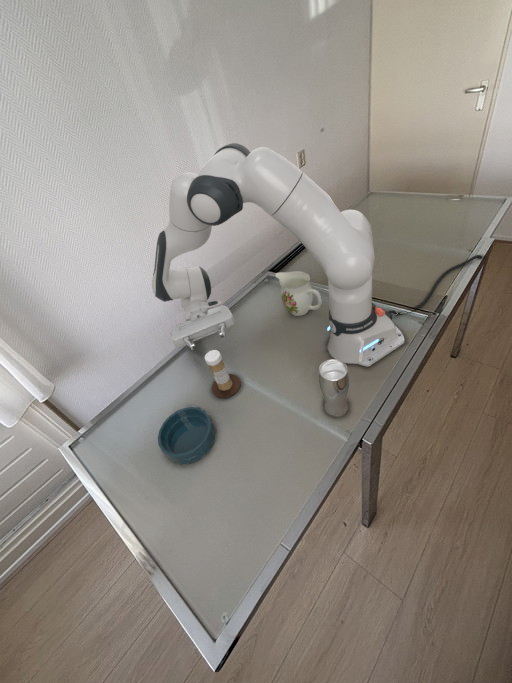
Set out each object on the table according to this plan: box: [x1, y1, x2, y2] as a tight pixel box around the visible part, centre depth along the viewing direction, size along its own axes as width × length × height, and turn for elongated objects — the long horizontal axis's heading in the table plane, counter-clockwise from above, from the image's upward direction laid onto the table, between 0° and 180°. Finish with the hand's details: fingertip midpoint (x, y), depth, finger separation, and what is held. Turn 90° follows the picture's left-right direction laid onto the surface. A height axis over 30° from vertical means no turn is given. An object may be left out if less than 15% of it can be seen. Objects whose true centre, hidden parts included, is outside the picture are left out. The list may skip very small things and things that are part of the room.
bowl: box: [157, 406, 217, 466], centre depth 85 cm, size 14×14×5 cm
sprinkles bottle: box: [204, 349, 232, 391], centre depth 93 cm, size 5×5×13 cm
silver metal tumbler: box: [318, 358, 350, 418], centre depth 79 cm, size 7×7×15 cm
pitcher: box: [274, 270, 323, 317], centre depth 112 cm, size 11×18×14 cm, turn 49°
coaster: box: [211, 373, 242, 399], centre depth 97 cm, size 9×9×1 cm
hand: (208, 341), depth 95 cm, fingers open, 8 cm apart
